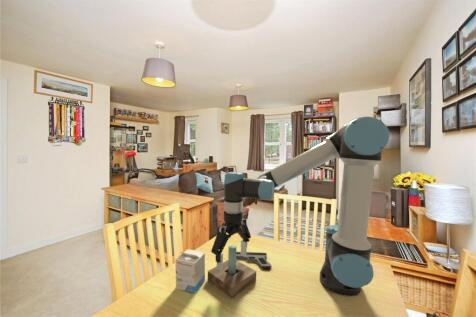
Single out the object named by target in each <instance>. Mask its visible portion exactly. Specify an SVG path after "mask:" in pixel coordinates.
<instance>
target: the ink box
mask: <svg viewBox="0 0 476 317" xmlns="http://www.w3.org/2000/svg"><path fill="white" fill-rule="evenodd" d="M179 253H180V255H179V256H178V257H177V258H175V259H174V260H175V289H178V290H181V291H184V292H188V293H193V294H196V293H197V291H198V290H199V289H200V288H201V286H202V285H203V284H204V282H205V281H206V267H205V266H206V260H205V259H206V258H205V256H206V254H205V252H203V251H197V250H194V249H189V248H187V249H186V250H184V252H182V251H180V252H179Z"/></svg>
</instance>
